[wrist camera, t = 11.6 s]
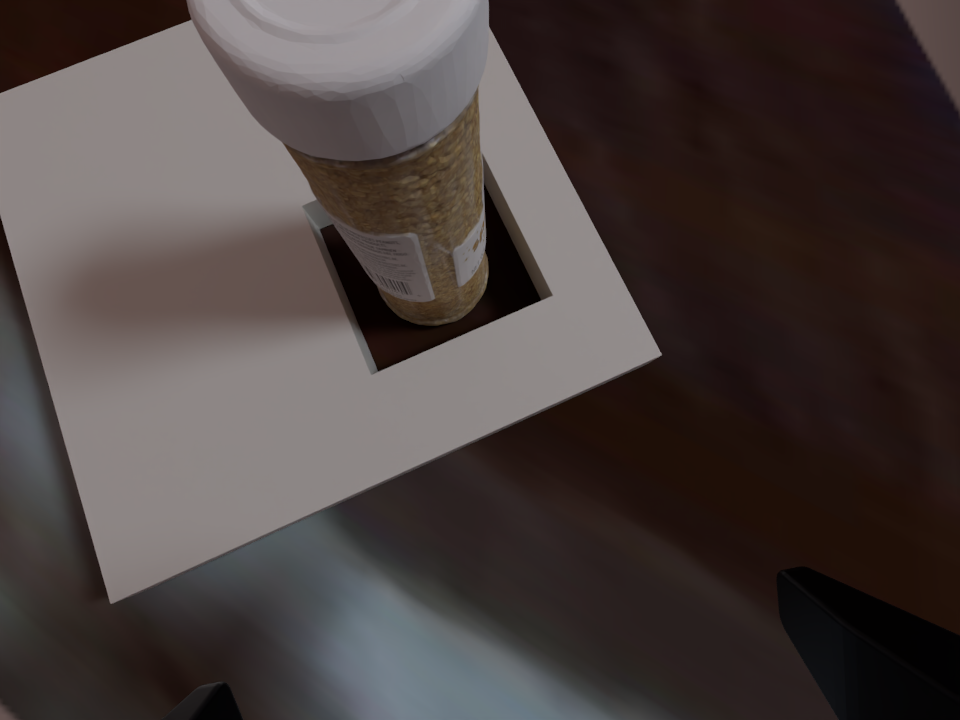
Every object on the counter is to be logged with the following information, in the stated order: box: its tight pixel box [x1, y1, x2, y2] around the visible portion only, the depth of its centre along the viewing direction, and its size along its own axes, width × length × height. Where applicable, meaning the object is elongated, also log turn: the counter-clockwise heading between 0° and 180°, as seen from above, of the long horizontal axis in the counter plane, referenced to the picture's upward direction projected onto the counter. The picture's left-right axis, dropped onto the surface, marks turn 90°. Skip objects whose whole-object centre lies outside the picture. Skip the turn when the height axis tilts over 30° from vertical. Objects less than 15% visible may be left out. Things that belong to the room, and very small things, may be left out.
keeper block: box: [0, 20, 662, 604], centre depth 20 cm, size 20×20×2 cm
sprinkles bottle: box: [187, 0, 489, 326], centre depth 14 cm, size 5×5×14 cm
